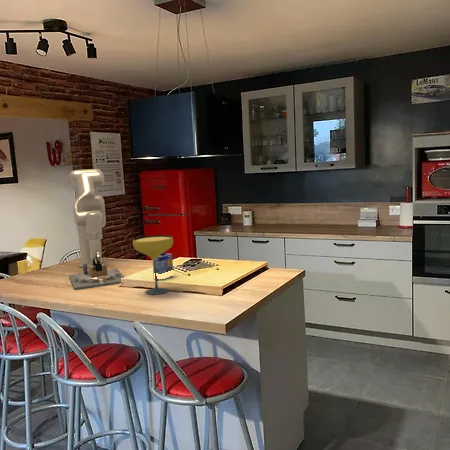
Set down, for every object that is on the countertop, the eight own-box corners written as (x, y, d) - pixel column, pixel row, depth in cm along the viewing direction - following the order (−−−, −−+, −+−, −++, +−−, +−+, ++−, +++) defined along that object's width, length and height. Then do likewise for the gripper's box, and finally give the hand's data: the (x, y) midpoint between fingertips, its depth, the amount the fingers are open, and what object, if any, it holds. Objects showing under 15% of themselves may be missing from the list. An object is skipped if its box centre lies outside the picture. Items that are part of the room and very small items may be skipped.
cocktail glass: (133, 290, 222) (129, 237, 218) (171, 284, 228) (167, 233, 225) (141, 299, 205) (136, 243, 202) (181, 293, 211) (177, 238, 208)
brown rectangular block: (89, 276, 242) (88, 266, 241) (104, 273, 246) (103, 263, 246) (92, 277, 238) (91, 267, 237) (107, 275, 242) (106, 265, 241)
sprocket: (63, 280, 242) (61, 268, 241) (96, 270, 263) (95, 259, 262) (97, 284, 230) (96, 271, 230) (130, 273, 251) (129, 261, 250)
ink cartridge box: (161, 280, 237) (159, 252, 235) (153, 279, 240) (151, 252, 238) (174, 276, 245) (172, 249, 243) (166, 275, 248) (164, 248, 246)
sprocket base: (69, 277, 257) (68, 271, 256) (116, 270, 266) (116, 265, 266) (74, 290, 227) (74, 283, 227) (128, 282, 237) (127, 276, 237)
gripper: (85, 235, 246) (88, 267, 248) (89, 239, 230) (92, 273, 232) (99, 233, 249) (102, 265, 251) (104, 237, 233) (107, 271, 235)
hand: (97, 269), depth 241 cm, fingers open, 9 cm apart
